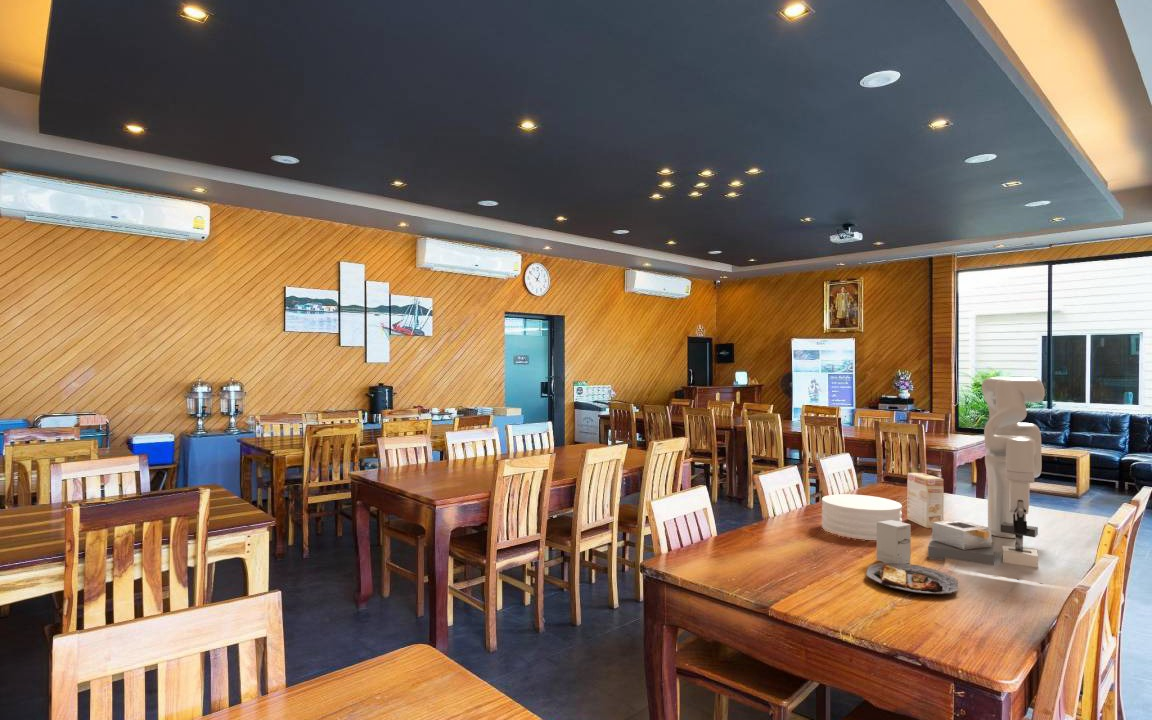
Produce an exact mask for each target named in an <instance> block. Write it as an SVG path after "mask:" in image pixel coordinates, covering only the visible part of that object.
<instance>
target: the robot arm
mask: <svg viewBox="0 0 1152 720" xmlns="http://www.w3.org/2000/svg"><path fill="white" fill-rule="evenodd" d="M981 391H982V396H983V398H984V400H985V403H986V405H987V408H988V416H989V417H988V418H989V419H988V420H987V422H986V424H985V426H984V431H983V435H984V436H983V437H984V447H985V450H986V454H985V457H984V464H985V469H986V475H987V476H986V479H987V527H989V528H991V536H994V537H1000V538H1005V539H1006V538H1009V539H1015V534H1011V533H1004V532H1001V524H1002V523H1003V522H1007V523H1013V524H1014V532H1015V533H1019V534H1027V526H1028V522H1027V514H1029V510H1030V499H1031V498H1030V494H1031V493H1030V492H1031V491H1030V489H1031V488H1030V486H1031V485H1030V484H1034V483H1035V479H1037V478H1038V477H1040V475H1041V474H1042V468H1043V467H1042V463H1043V461H1042V435H1041V430H1040V427H1038V425H1037V424H1035V423H1031V422H1030V423H1029V422H1023V421H1024V420H1025V419H1026V417H1028V416H1027V415H1028V412H1027V406H1026V403H1041V402H1043V400H1044V399H1045V395H1046V393H1045V392H1046V391H1045V387H1044V384H1043V382H1042V381H1041V379H1038V378H1036V377H1029V376H1028V377H1022V376H1020V377H1019V376H1015V377H1013V376H994V377H988V378H985V379H983V380H982V383H981Z"/></svg>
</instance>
